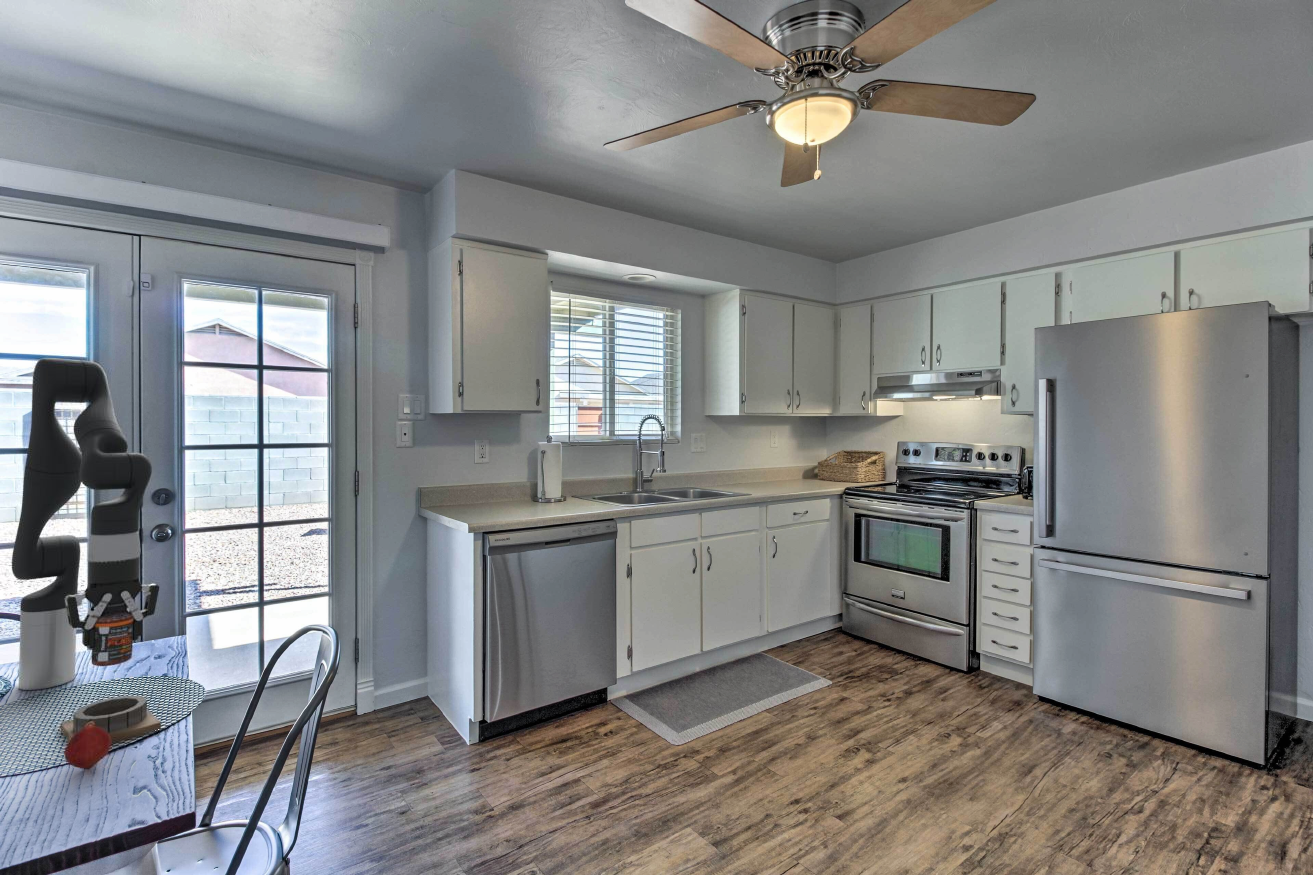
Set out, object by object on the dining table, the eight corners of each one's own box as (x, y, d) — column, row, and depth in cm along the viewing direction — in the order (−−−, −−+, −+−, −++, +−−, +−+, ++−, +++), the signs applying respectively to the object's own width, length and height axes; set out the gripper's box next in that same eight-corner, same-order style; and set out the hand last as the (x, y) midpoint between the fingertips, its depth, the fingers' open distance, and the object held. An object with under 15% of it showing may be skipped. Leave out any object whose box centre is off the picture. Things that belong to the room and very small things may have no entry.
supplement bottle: (108, 668, 117) (109, 608, 117) (82, 665, 118) (84, 605, 118) (140, 658, 123) (141, 600, 123) (116, 655, 124) (117, 598, 124)
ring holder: (60, 730, 120) (60, 706, 120) (139, 709, 129) (140, 688, 129) (77, 753, 111) (77, 728, 111) (160, 729, 121) (161, 706, 121)
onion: (71, 781, 102) (72, 733, 102) (59, 771, 105) (60, 724, 105) (116, 766, 107) (117, 719, 107) (103, 756, 110) (104, 711, 110)
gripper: (155, 549, 128) (153, 630, 128) (59, 558, 117) (57, 648, 117) (166, 553, 124) (164, 638, 124) (68, 564, 112) (66, 657, 112)
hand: (112, 643), depth 120 cm, fingers closed on supplement bottle, 6 cm apart
